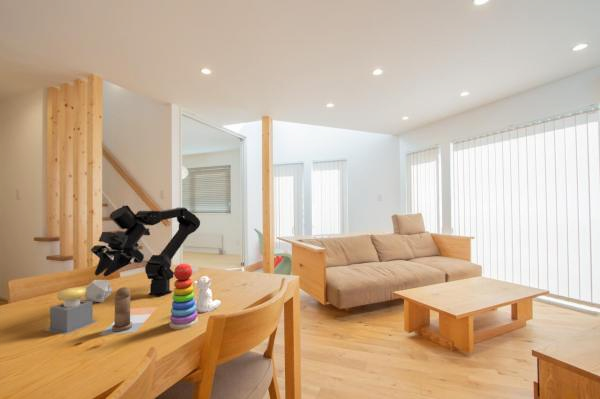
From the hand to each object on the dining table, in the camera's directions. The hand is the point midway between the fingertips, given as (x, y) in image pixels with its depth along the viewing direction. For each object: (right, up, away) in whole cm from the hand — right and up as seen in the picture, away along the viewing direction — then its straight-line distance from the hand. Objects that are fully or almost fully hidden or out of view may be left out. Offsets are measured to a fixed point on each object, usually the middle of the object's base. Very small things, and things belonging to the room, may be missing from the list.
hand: (100, 275), depth 89 cm
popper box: (-2, -13, -8) cm, 16 cm away
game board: (+13, -14, -4) cm, 19 cm away
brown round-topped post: (+14, -13, -10) cm, 21 cm away
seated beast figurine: (+32, -14, +6) cm, 36 cm away
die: (-12, -14, +15) cm, 24 cm away
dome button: (-2, -10, -8) cm, 13 cm away
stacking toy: (+30, -14, -7) cm, 34 cm away
